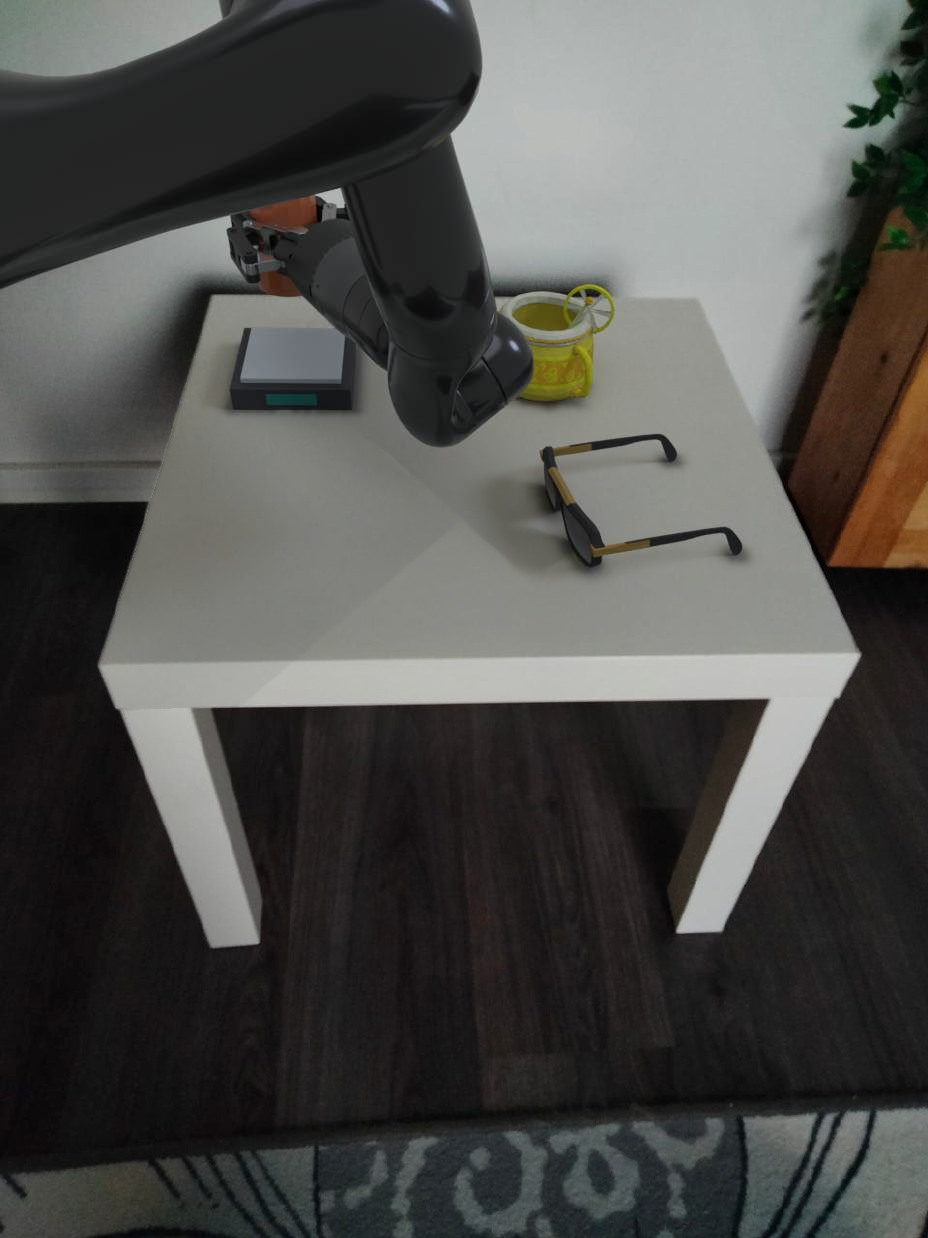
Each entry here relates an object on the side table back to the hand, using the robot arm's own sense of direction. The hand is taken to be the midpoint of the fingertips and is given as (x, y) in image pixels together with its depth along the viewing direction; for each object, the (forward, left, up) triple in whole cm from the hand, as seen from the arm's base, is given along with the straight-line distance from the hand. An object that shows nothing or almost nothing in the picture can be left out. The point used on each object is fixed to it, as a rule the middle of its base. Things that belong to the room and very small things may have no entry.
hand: (272, 209), depth 83 cm
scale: (0, -1, -17) cm, 17 cm away
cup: (-1, -2, -6) cm, 6 cm away
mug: (+16, -22, -17) cm, 32 cm away
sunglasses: (+3, -40, -17) cm, 44 cm away
